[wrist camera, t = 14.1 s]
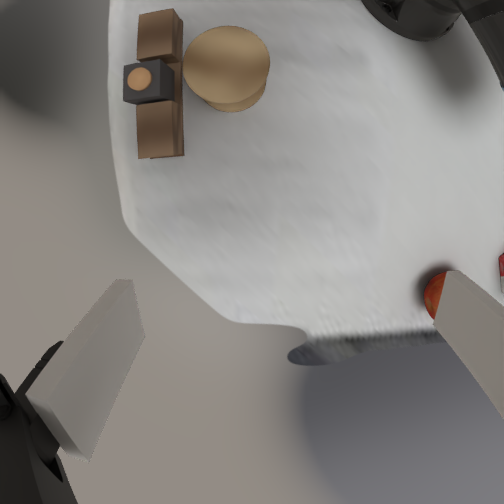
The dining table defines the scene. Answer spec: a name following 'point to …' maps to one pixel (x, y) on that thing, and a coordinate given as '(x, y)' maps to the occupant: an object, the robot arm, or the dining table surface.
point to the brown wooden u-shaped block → (169, 112)
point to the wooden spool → (227, 67)
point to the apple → (434, 293)
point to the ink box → (502, 271)
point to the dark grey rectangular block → (148, 82)
